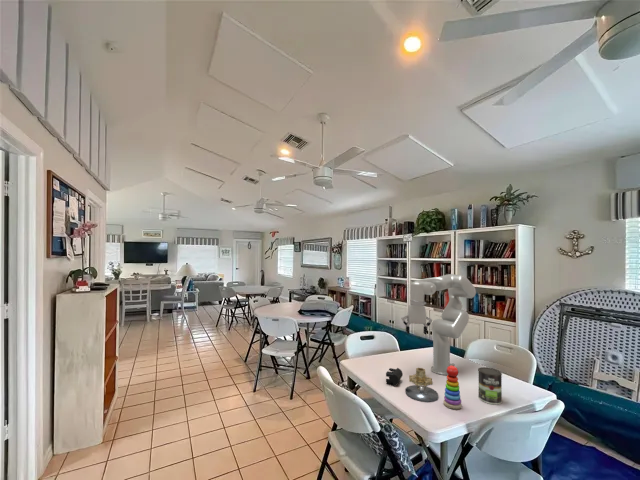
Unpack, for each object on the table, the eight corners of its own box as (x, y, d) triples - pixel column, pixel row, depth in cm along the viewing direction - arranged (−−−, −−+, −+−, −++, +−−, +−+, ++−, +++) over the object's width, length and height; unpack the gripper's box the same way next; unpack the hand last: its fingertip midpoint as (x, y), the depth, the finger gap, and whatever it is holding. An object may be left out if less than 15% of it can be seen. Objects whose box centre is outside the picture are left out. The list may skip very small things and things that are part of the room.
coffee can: (504, 406, 141) (503, 376, 142) (479, 402, 145) (479, 372, 146) (499, 397, 151) (499, 368, 152) (477, 393, 155) (476, 365, 156)
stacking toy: (440, 401, 145) (440, 362, 146) (456, 401, 146) (455, 362, 147) (448, 410, 137) (448, 368, 138) (465, 409, 138) (465, 368, 139)
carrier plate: (420, 385, 163) (420, 378, 163) (445, 397, 149) (445, 390, 149) (398, 390, 156) (398, 383, 156) (422, 404, 142) (422, 396, 142)
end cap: (398, 387, 160) (398, 374, 160) (385, 384, 163) (385, 372, 164) (402, 380, 169) (402, 368, 169) (390, 378, 172) (390, 366, 172)
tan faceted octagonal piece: (420, 375, 177) (420, 364, 177) (437, 383, 166) (437, 371, 166) (404, 378, 171) (404, 367, 172) (421, 387, 160) (421, 375, 161)
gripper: (430, 303, 176) (429, 332, 175) (400, 301, 176) (399, 331, 175) (434, 305, 168) (433, 336, 167) (403, 303, 169) (402, 334, 168)
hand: (416, 333), depth 171 cm, fingers open, 9 cm apart
